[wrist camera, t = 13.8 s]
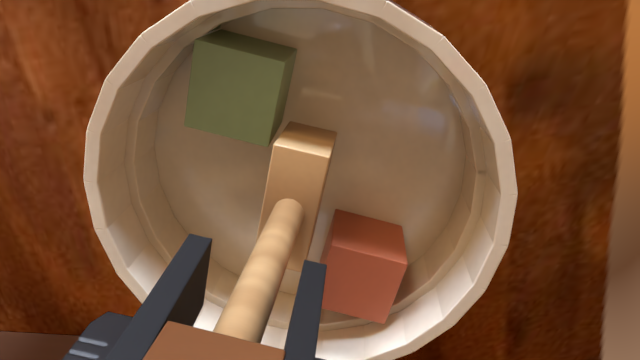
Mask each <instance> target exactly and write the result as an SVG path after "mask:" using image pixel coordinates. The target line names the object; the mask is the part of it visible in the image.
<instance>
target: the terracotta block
mask: <svg viewBox="0 0 640 360" xmlns="http://www.w3.org/2000/svg"><path fill="white" fill-rule="evenodd" d="M319 263H321V264H326V265H327V269H326V277H325V285H324V293H323V300H322V308H323V309H327V310H331V311H334V312H338V313H342V314H346V315H350V316H354V317H358V318H362V319H366V320H370V321H374V322H377V323H381V324H385V322H386V320H387V317H388V315H389V312H390V309H391V307H392V304H393V302H394V299H395V297H396V294H397V291H398V289H399V286H400V284H401V281H402V279H403V276H404V273H405V271H406V268H407V266H408V262H407V255H406V249H405V242H404V235H403V229H402V226H401V225H397V224H393V223H389V222H385V221H381V220H378V219H374V218H370V217H366V216H362V215H358V214H355V213H351V212H347V211H343V210H339V209H335V211H334V215H333V218H332V222H331V225H330V228H329V232H328V235H327V239H326V242H325V245H324V249H323V252H322V256H321V259H320V262H319Z"/></svg>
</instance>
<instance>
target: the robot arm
mask: <svg viewBox="0 0 640 360" xmlns="http://www.w3.org/2000/svg"><path fill="white" fill-rule="evenodd" d="M211 246H212V239H211V238H207V237H203V236H198V235H194V234H189V235H188V237H187V238H186V240H185V241H184V243H183V244H182V246H181V247H180V249H179V250H178V252H177V253H176V255H175V256H174V258H173V259H172V260H171V262H170V263H169V265H168V266H167V268H166V269H165V271H164V272H163V274H162V275H161V277H160V278H159V280H158V281H157V283H156V284H155V286H154V287H153V289H152V290H151V292H150V293H149V295H148V296H147V298H146V299H145V301H144V302H143V304H142V305H141V307H140V308H139V309H138V311H137V312H136V314H135V315H134V317H130V316H125V315H121V314H116V313H112V312H107V313H105V314H103V315H102V316H100V317H99V318H97V319H96V320H94V321H92V322H91V323H90V324H89V325H88V326H87V328H86V329H85V330H84V332H83V333H82V334H81V335H80V337H79V339H78V341H76V342H75V343H74V344H73V346H72V347H71V348H70V349H69V352H68V353H66V354H65V356H64V357H63V358H62V360H143V358H144V356H145V355H146V353H147V352H148V350H149V349H150V347H151V346H152V344H153V343H154V341H155V339H156V338H157V336H158V335H159V333H160V332H161V330H162V329H163V327H164V326H165V324H166V323H167V321H172V322H176V323H180V324H184V325H188V326H192V327H193V325H194V323H195V321H196V319H197V317H198V315H199V313H200V311H201V309H202V307H203V305H204V297H205V290H206V283H207V275H208V268H209V261H210V253H211ZM326 269H327V265H326V264H321V263H317V262H313V261H308V260H304V263H303V267H302V272H301V276H300V280H299V284H298V289H297V293H296V297H295V301H294V306H293V310H292V314H291V319H290V323H289V327H288V332H287V337H286V341H285V346H284V350H285V352H286V354H285V358H284V360H325V359H321V358H316V357H315V355H316V347H317V339H318V332H319V324H320V316H321V308H322V300H323V293H324V285H325V277H326Z"/></svg>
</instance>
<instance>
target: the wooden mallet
mask: <svg viewBox="0 0 640 360" xmlns="http://www.w3.org/2000/svg"><path fill="white" fill-rule="evenodd" d="M336 137H337V132H335V131H331V130H326V129H322V128H318V127H314V126H310V125H305V124H301V123H297V122H293V121H290V122H289V123H288V124H287V126H286V127H285V129H284V130H283V131H282V133H281V134H280V136H279V137H278V139H277V140H276V141H275V143H274V144H273V149H272V154H271V160H270V165H269V171H268V177H267V182H266V188H265V193H264V199H263V205H262V210H261V216H260V221H259V227H258V232H257V238H256V244H255V247H254V249H253V251H252V253H251V255H250V257H249V259H248V261H247V263H246V265H245V267H244V269H243V271H242V273H241V275H240V277H239V279H238V281H237V283H236V285H235V287H234V289H233V291H232V293H231V295H230V297H229V299H228V301H227V303H226V305H225V307H224V309H223V311H222V313H221V315H220V317H219V319H218V321H217V323H216V325H215V327H214V329H213V331H208V330H204V329H200V328H196V327H192V326H188V325H184V324H180V323H176V322H172V321H167V323H166V324H165V326H164V327H163V329H162V330H161V332H160V333H159V335H158V336H157V338H156V339H155V341H154V343H153V344H152V346H151V347H150V349H149V350H148V352H147V353H146V355H145V356H144V358H143V360H284V358H285V354H286V352H285V350H284V349H280V348H276V347H272V346H268V345H264V344H261V341H262V338H263V335H264V332H265V329H266V326H267V323H268V320H269V317H270V314H271V311H272V309H273V306H274V303H275V300H276V297H277V294H278V291H279V288H280V285H281V282H282V279H283V276H284V273H285V270H286V269H289V270H293V271H297V272H302V267H303V263H304V260H307V258H308V254H309V250H310V247H311V243H312V239H313V236H314V232H315V228H316V223H317V219H318V215H319V210H320V206H321V202H322V197H323V193H324V189H325V185H326V180H327V176H328V172H329V167H330V163H331V159H332V154H333V150H334V146H335V141H336Z"/></svg>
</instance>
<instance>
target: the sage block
mask: <svg viewBox="0 0 640 360" xmlns="http://www.w3.org/2000/svg"><path fill="white" fill-rule="evenodd" d="M296 54H297V49H296V48H292V47H288V46H284V45H281V44H277V43H273V42H269V41H265V40H261V39H257V38H253V37H250V36H246V35H242V34H238V33H234V32H230V31H226V30H222V29H220V30H217V31H215V32H212V33H209V34H207V35H204V36H202V37H199V38H196V39H195V40H194V47H193V55H192V64H191V72H190V80H189V88H188V96H187V105H186V113H185V121H184V126H186V127H190V128H194V129H197V130H201V131H205V132H209V133H213V134H217V135H221V136H225V137H229V138H233V139H237V140H241V141H245V142H249V143H252V144H256V145H260V146H264V147H268V146H269V145H270V143H271V141H272V139H273V138H274V136H275V134H276V132H277V130H278V129H279V127H280V125H281V123H282V120H283V115H284V111H285V106H286V101H287V97H288V92H289V87H290V82H291V78H292V73H293V68H294V64H295V59H296Z"/></svg>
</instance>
